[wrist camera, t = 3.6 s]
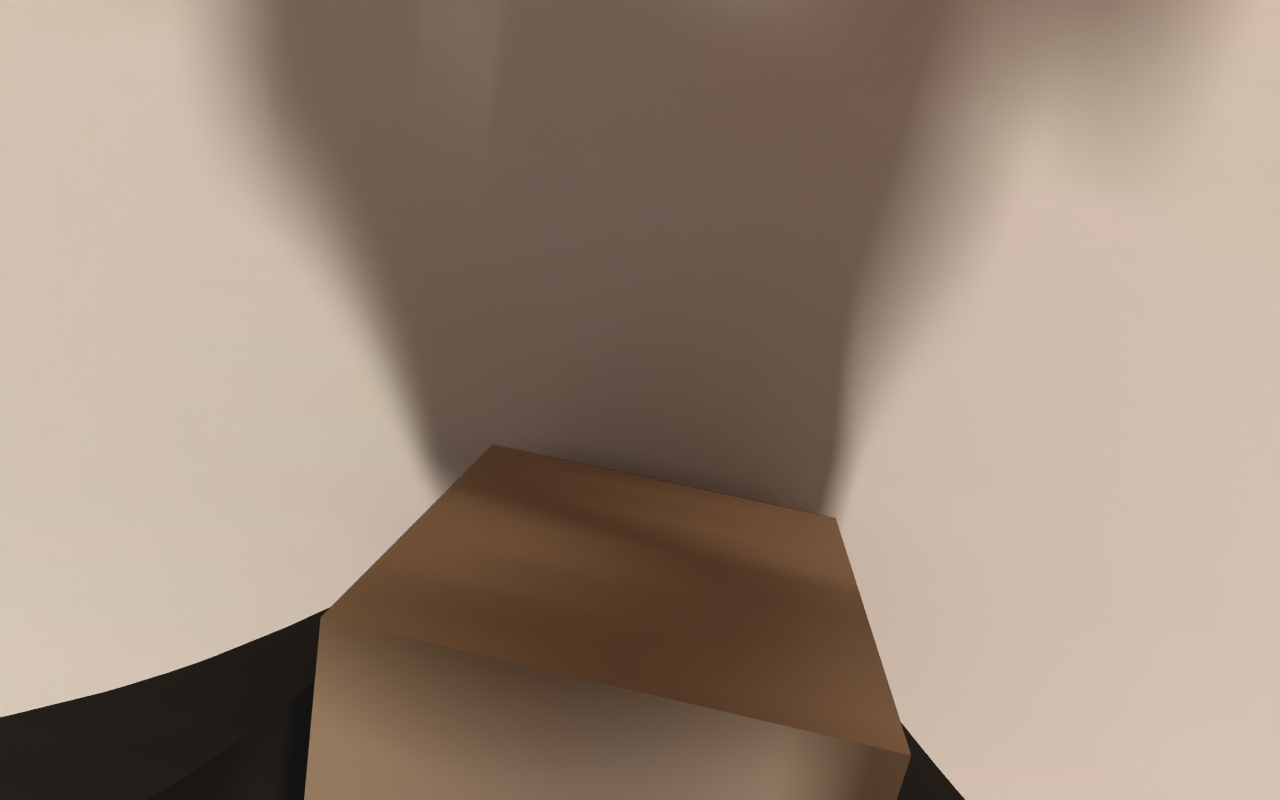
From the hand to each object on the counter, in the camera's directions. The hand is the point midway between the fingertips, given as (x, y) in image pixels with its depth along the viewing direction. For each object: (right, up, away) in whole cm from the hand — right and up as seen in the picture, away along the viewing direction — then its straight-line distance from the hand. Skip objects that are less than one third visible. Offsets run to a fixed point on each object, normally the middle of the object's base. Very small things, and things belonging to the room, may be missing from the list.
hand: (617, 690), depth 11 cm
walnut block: (0, 0, +1) cm, 1 cm away
